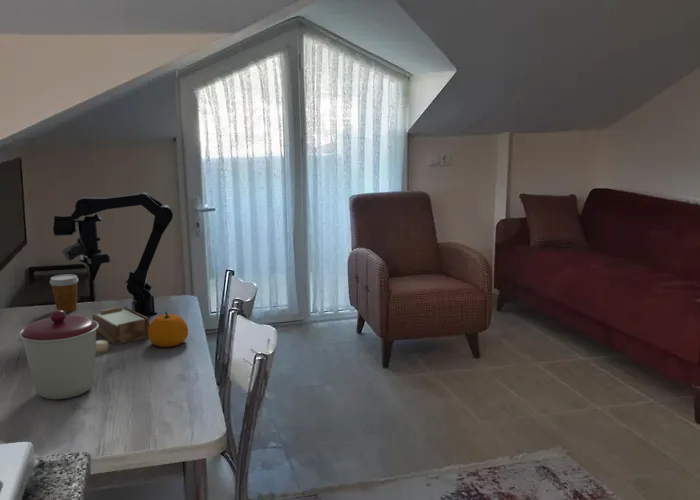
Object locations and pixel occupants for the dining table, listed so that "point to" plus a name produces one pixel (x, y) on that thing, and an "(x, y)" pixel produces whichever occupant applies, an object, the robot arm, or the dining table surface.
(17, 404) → the dining table surface
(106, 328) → the walnut box
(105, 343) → the tape roll
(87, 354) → the canister
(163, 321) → the fruit
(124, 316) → the lid
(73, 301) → the disposable coffee cup
